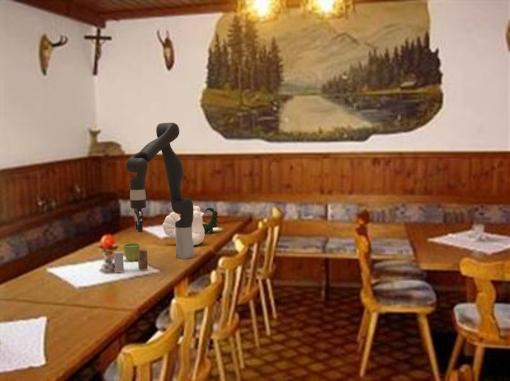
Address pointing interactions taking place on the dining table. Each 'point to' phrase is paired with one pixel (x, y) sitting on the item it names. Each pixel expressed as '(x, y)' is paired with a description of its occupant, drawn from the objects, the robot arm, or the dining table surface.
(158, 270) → the dining table surface
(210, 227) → the toy figurine
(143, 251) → the walnut block
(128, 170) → the robot arm
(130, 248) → the plant pot
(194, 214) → the decorative rooster
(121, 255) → the slate-grey block
